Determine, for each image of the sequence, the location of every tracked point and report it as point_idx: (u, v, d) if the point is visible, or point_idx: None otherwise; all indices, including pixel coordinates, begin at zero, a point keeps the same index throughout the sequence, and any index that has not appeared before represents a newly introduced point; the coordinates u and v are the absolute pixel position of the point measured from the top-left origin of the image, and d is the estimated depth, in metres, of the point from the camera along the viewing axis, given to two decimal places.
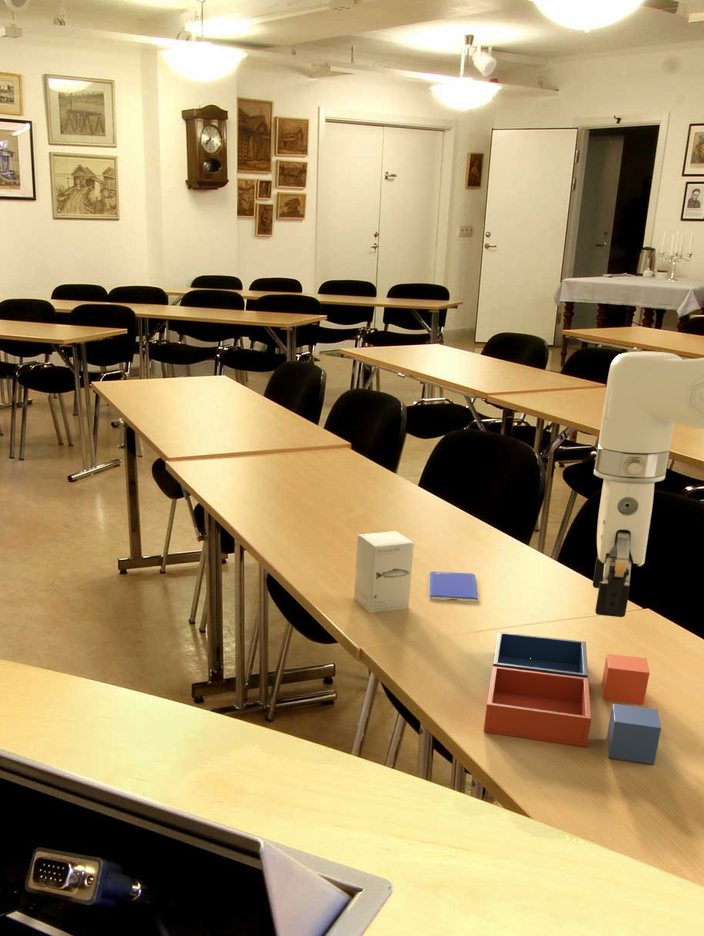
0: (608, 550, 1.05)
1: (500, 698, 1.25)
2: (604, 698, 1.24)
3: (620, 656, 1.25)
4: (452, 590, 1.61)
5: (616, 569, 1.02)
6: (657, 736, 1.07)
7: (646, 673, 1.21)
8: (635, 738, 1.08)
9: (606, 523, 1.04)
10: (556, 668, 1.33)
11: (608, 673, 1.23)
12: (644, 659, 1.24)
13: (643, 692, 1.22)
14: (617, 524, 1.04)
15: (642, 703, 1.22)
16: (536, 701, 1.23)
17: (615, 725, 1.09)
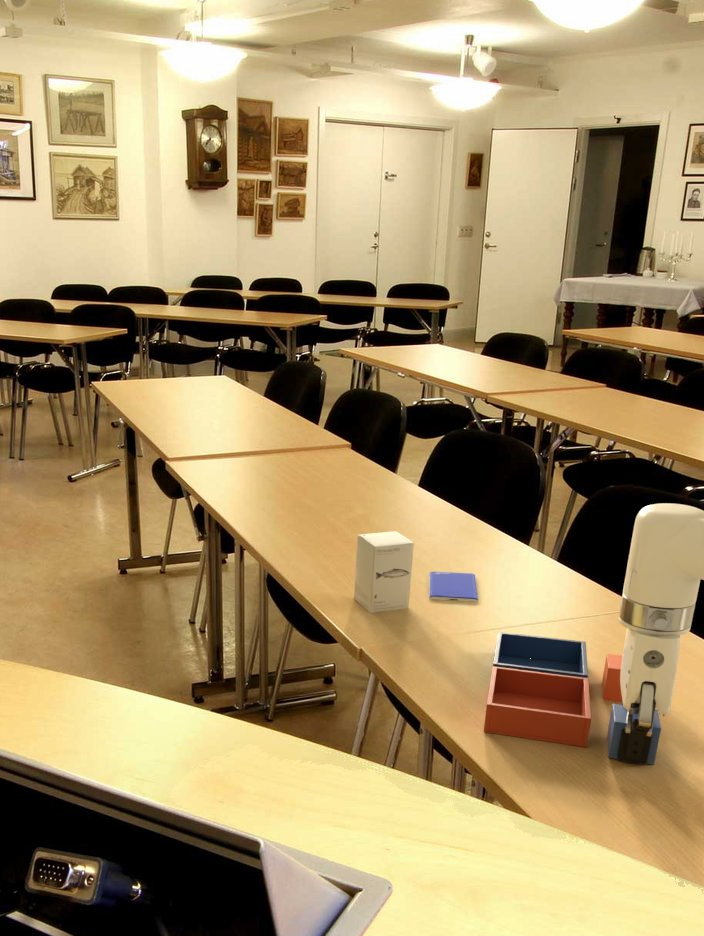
0: (633, 700, 1.04)
1: (500, 698, 1.25)
2: (604, 698, 1.24)
3: (620, 656, 1.25)
4: (452, 590, 1.61)
5: (638, 727, 1.04)
6: (657, 736, 1.07)
7: None
8: None
9: (631, 674, 1.04)
10: (556, 668, 1.33)
11: (608, 673, 1.23)
12: None
13: None
14: (642, 676, 1.03)
15: None
16: (536, 701, 1.23)
17: (615, 725, 1.09)
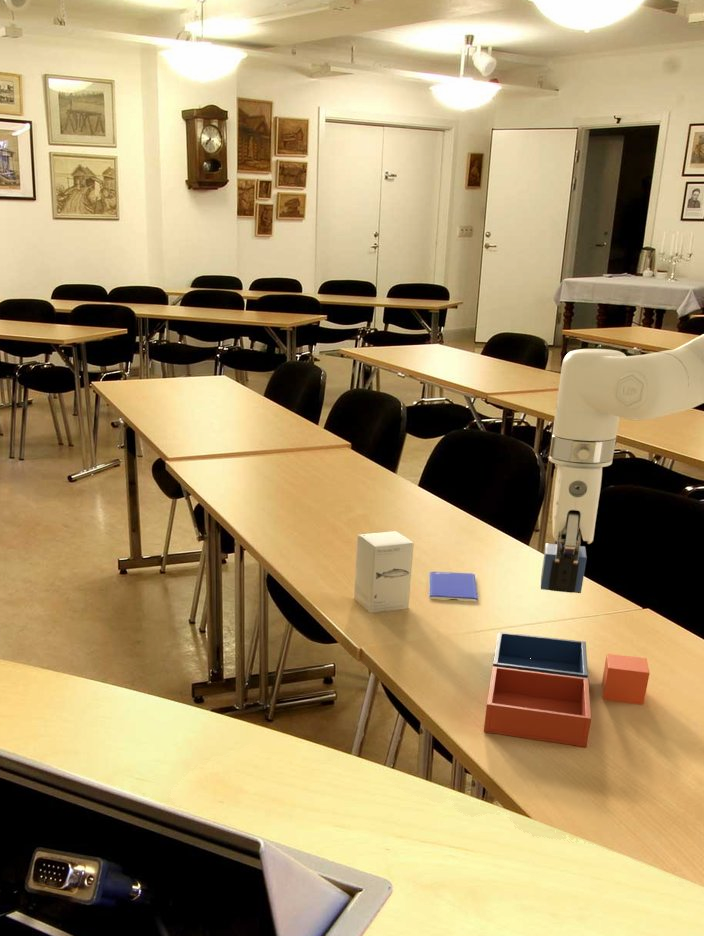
0: (560, 529, 1.16)
1: (500, 698, 1.25)
2: (604, 698, 1.24)
3: (620, 656, 1.25)
4: (452, 590, 1.61)
5: (565, 553, 1.15)
6: (583, 565, 1.19)
7: (646, 673, 1.21)
8: None
9: (559, 504, 1.15)
10: (556, 668, 1.33)
11: (608, 673, 1.23)
12: (644, 659, 1.24)
13: (643, 692, 1.22)
14: (568, 505, 1.14)
15: (642, 703, 1.22)
16: (536, 701, 1.23)
17: (546, 557, 1.20)
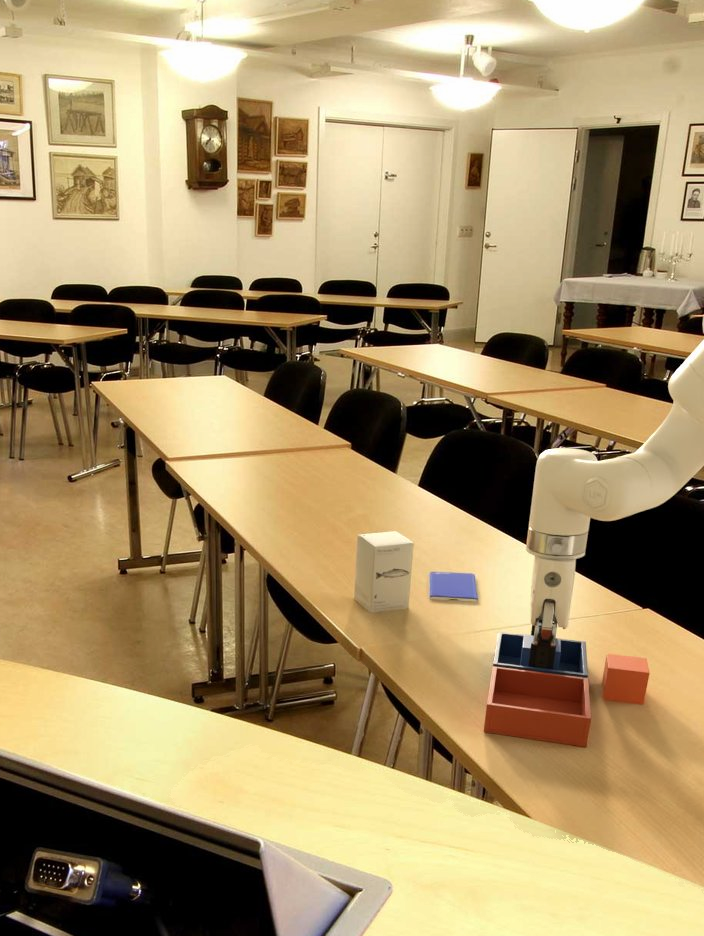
0: (537, 615, 1.23)
1: (500, 698, 1.25)
2: (604, 698, 1.24)
3: (620, 656, 1.25)
4: (452, 590, 1.61)
5: (542, 635, 1.21)
6: (557, 659, 1.27)
7: (646, 673, 1.21)
8: None
9: (535, 593, 1.23)
10: None
11: (608, 673, 1.23)
12: (644, 659, 1.24)
13: (643, 692, 1.22)
14: (544, 594, 1.22)
15: (642, 703, 1.22)
16: (536, 701, 1.23)
17: (523, 650, 1.28)
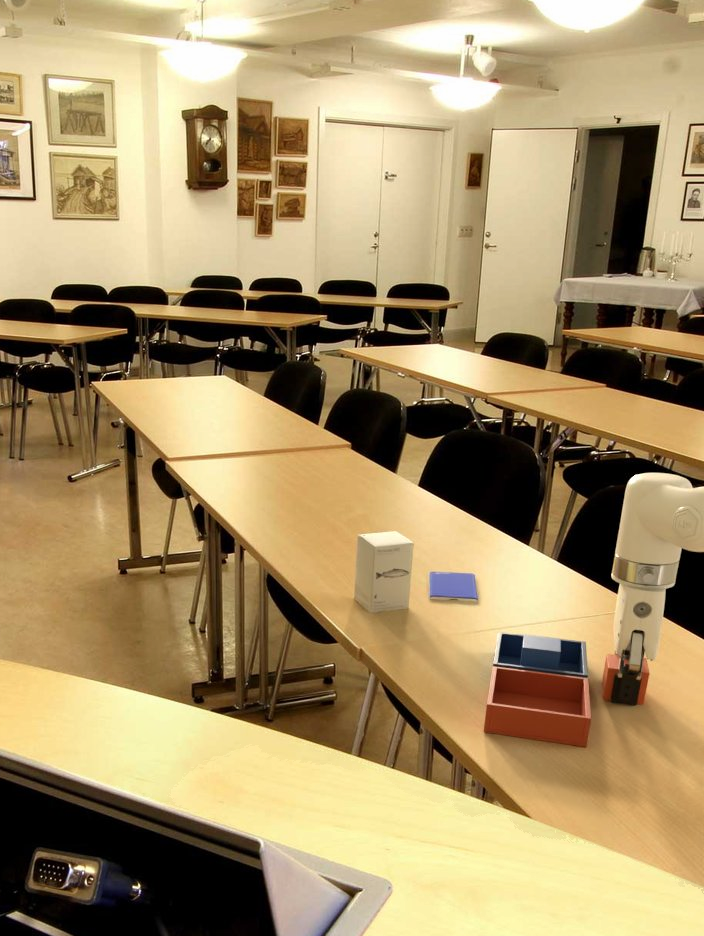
0: (624, 647, 1.18)
1: (500, 698, 1.25)
2: (604, 698, 1.24)
3: None
4: (452, 590, 1.61)
5: (629, 671, 1.18)
6: (557, 659, 1.27)
7: (646, 673, 1.21)
8: (539, 661, 1.28)
9: (623, 623, 1.17)
10: None
11: (608, 673, 1.23)
12: (644, 659, 1.24)
13: (643, 692, 1.22)
14: (633, 625, 1.17)
15: (642, 703, 1.22)
16: (536, 701, 1.23)
17: (523, 650, 1.28)
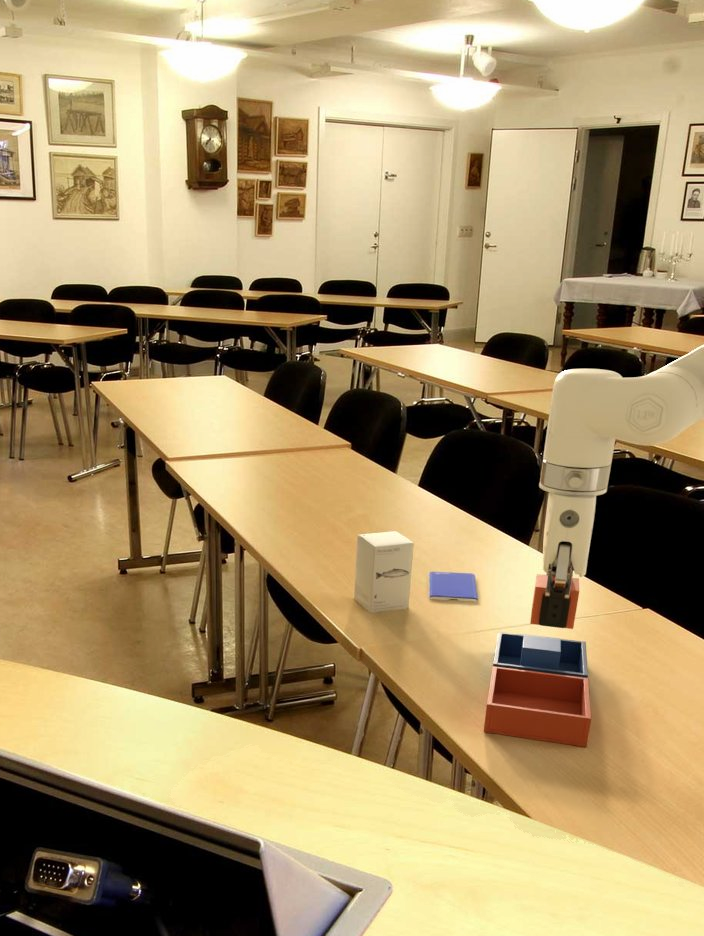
0: (551, 561, 1.08)
1: (500, 698, 1.25)
2: (531, 621, 1.14)
3: None
4: (452, 590, 1.61)
5: (555, 587, 1.08)
6: (557, 659, 1.27)
7: (575, 592, 1.11)
8: (539, 661, 1.28)
9: (549, 535, 1.07)
10: None
11: (535, 592, 1.13)
12: (576, 579, 1.14)
13: (572, 613, 1.12)
14: (559, 536, 1.07)
15: (572, 625, 1.12)
16: (536, 701, 1.23)
17: (523, 650, 1.28)
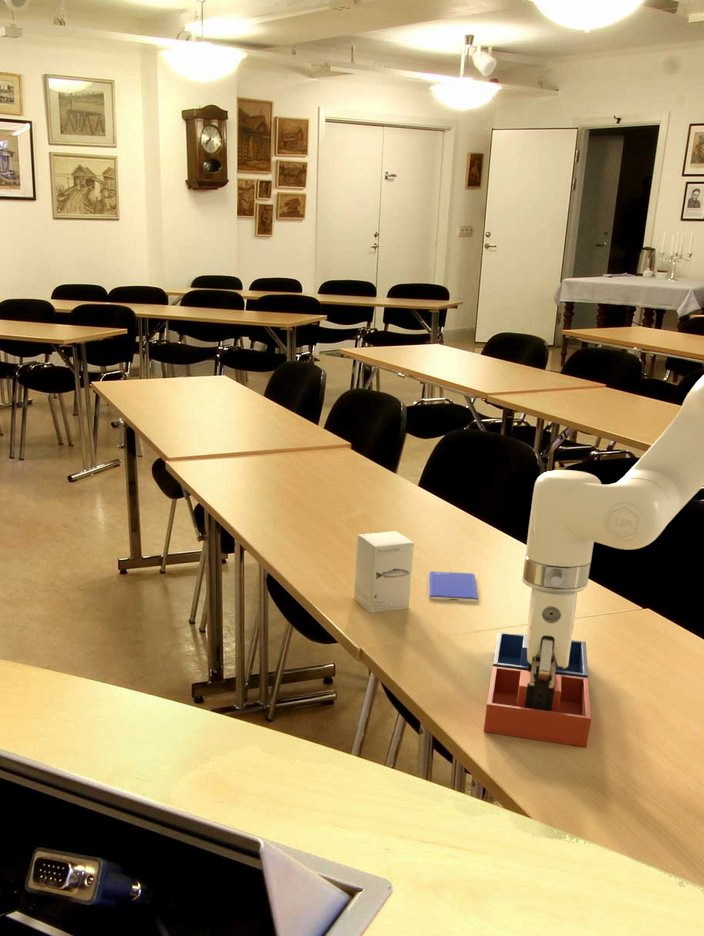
0: (534, 653, 1.12)
1: (500, 698, 1.25)
2: None
3: None
4: (452, 590, 1.61)
5: (539, 678, 1.11)
6: None
7: (558, 692, 1.15)
8: None
9: (532, 629, 1.11)
10: None
11: (519, 691, 1.17)
12: (558, 676, 1.19)
13: None
14: (542, 630, 1.11)
15: None
16: None
17: (523, 650, 1.28)
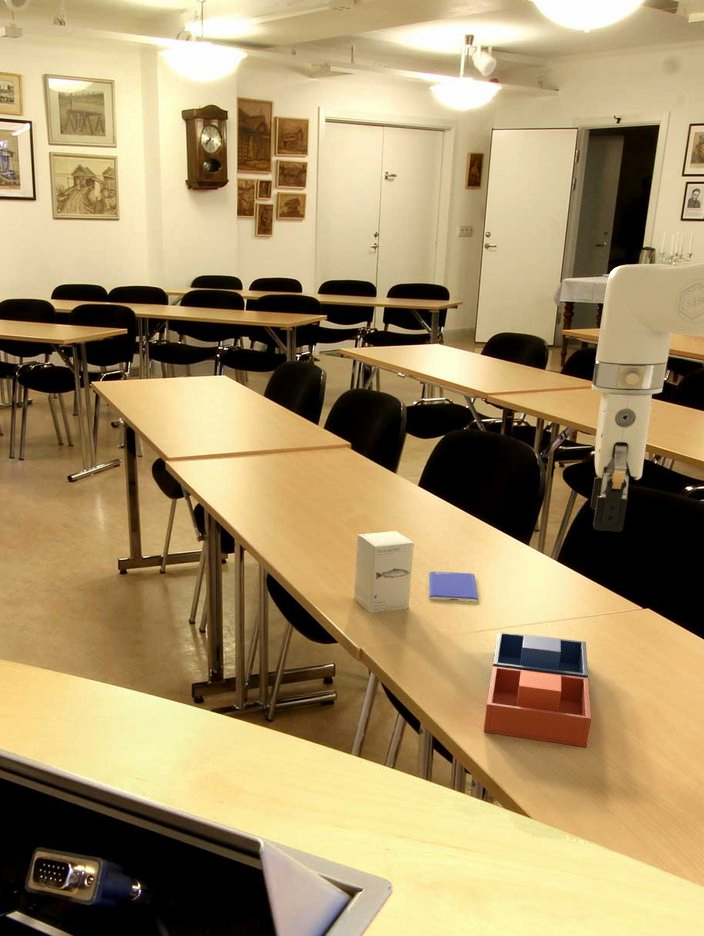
0: (606, 463, 1.06)
1: (500, 698, 1.25)
2: None
3: (534, 673, 1.20)
4: (452, 590, 1.61)
5: (614, 480, 1.03)
6: (557, 659, 1.27)
7: (558, 692, 1.15)
8: (539, 661, 1.28)
9: (604, 436, 1.05)
10: None
11: (519, 691, 1.17)
12: (558, 676, 1.19)
13: None
14: (615, 436, 1.04)
15: None
16: None
17: (523, 650, 1.28)
